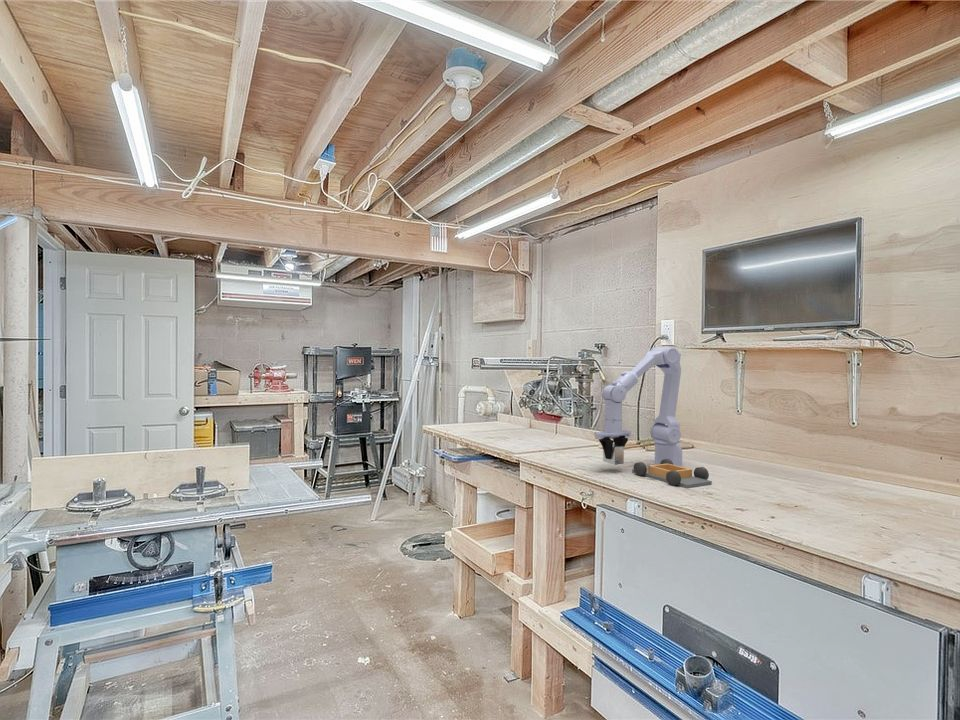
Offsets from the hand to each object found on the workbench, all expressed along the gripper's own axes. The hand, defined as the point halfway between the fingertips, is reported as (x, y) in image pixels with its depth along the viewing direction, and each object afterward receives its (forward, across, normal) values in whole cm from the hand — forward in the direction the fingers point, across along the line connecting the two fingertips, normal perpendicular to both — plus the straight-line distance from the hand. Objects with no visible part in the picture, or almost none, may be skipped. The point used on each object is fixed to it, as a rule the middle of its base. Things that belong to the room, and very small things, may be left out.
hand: (613, 458), depth 170 cm
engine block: (+2, 0, 0) cm, 2 cm away
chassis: (+4, -10, +16) cm, 19 cm away
